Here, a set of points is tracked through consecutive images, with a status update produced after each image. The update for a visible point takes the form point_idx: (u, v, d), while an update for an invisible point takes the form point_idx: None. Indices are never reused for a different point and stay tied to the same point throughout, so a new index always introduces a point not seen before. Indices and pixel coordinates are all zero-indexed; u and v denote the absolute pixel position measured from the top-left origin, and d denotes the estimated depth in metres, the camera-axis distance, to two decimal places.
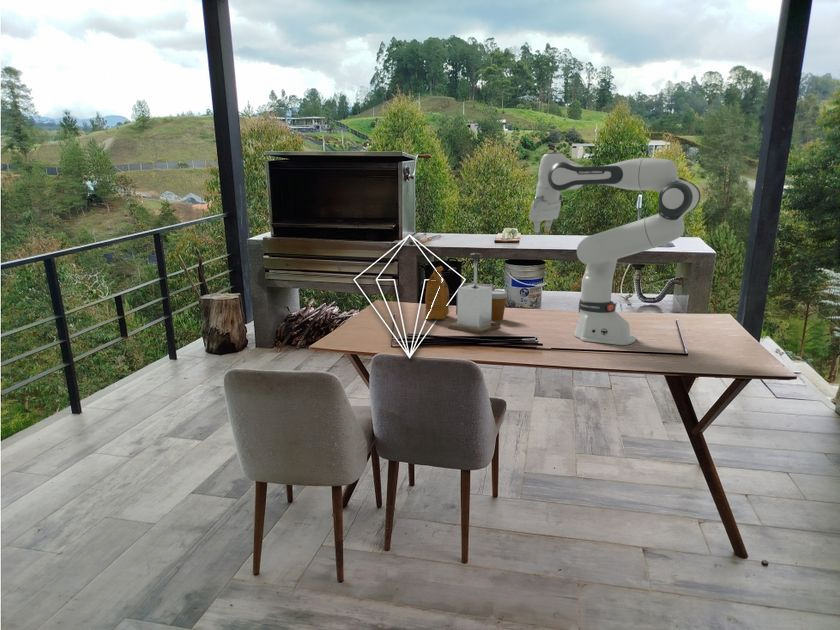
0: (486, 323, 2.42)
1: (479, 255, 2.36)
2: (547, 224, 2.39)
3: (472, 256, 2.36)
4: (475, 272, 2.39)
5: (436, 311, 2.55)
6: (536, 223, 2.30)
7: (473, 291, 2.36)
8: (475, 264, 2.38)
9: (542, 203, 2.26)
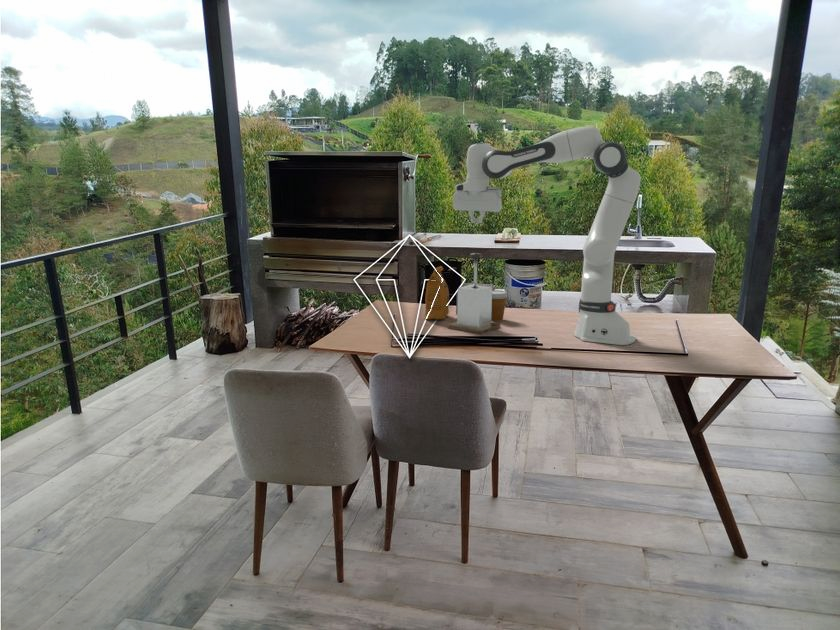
0: (486, 323, 2.42)
1: (479, 255, 2.36)
2: (472, 216, 2.35)
3: (472, 256, 2.36)
4: (475, 272, 2.39)
5: (436, 311, 2.55)
6: (483, 214, 2.33)
7: (473, 291, 2.36)
8: (475, 264, 2.38)
9: None
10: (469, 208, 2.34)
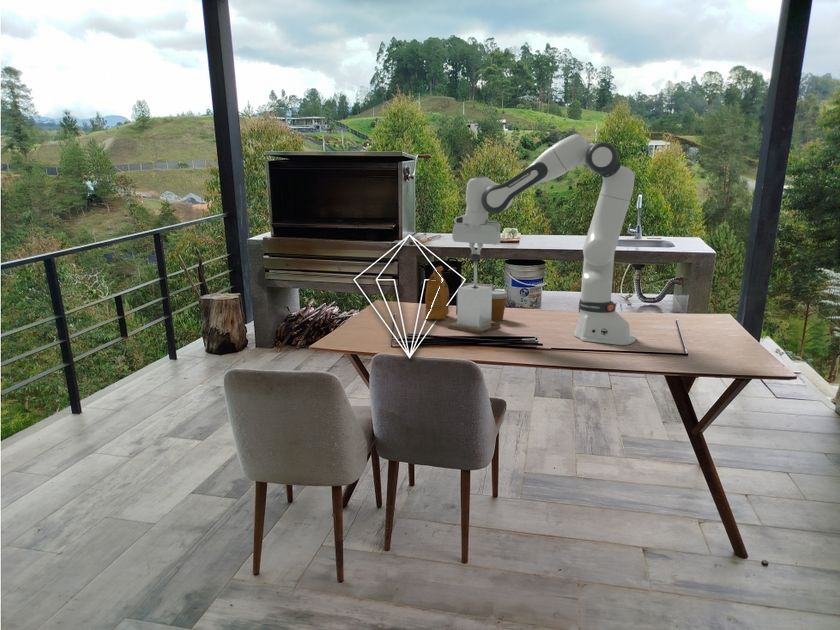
0: (486, 323, 2.42)
1: (479, 256, 2.36)
2: (473, 248, 2.38)
3: (472, 257, 2.36)
4: (475, 273, 2.39)
5: (436, 311, 2.55)
6: (481, 246, 2.36)
7: (473, 291, 2.36)
8: (475, 265, 2.38)
9: None
10: (468, 240, 2.36)
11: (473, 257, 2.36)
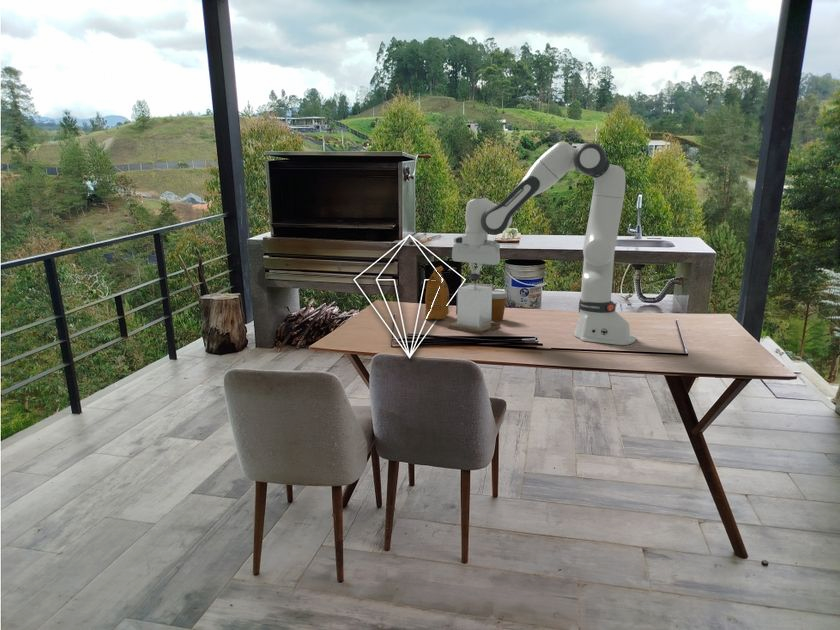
0: (486, 323, 2.42)
1: (478, 276, 2.38)
2: (472, 268, 2.39)
3: (472, 277, 2.38)
4: None
5: (436, 311, 2.55)
6: (481, 266, 2.37)
7: (473, 291, 2.36)
8: (475, 284, 2.40)
9: None
10: (468, 260, 2.38)
11: (473, 277, 2.38)
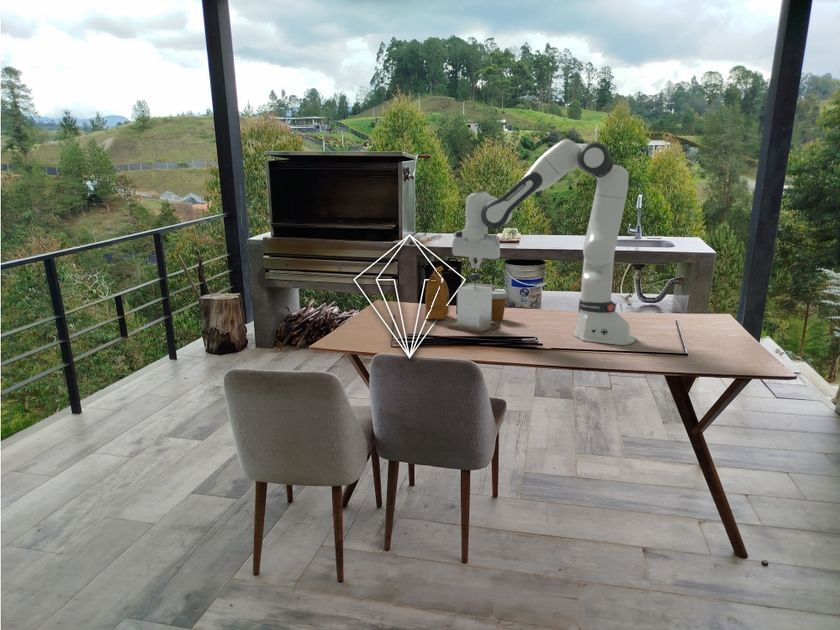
0: (486, 323, 2.42)
1: (478, 276, 2.38)
2: (472, 262, 2.39)
3: (472, 277, 2.38)
4: None
5: (436, 311, 2.55)
6: (481, 260, 2.37)
7: (473, 291, 2.36)
8: (475, 284, 2.40)
9: None
10: (468, 254, 2.38)
11: (473, 277, 2.38)
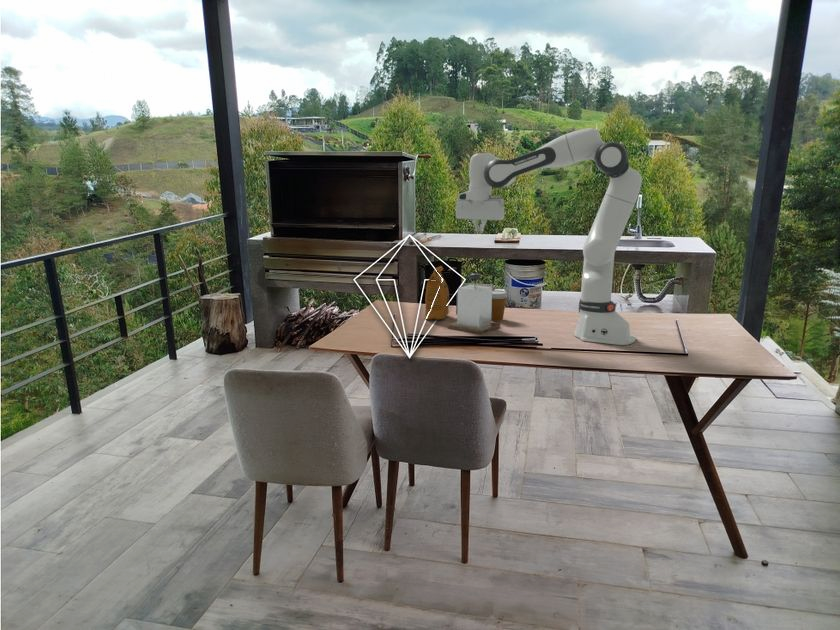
0: (486, 323, 2.42)
1: (478, 276, 2.38)
2: (476, 225, 2.36)
3: (472, 277, 2.38)
4: None
5: (436, 311, 2.55)
6: (485, 222, 2.34)
7: (473, 291, 2.36)
8: (475, 284, 2.40)
9: None
10: (472, 217, 2.35)
11: (473, 277, 2.38)
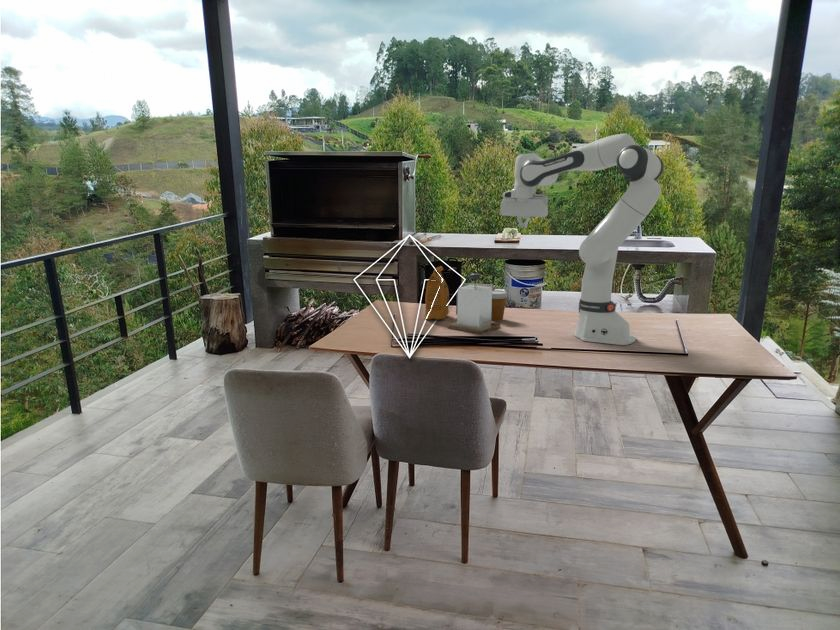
0: (486, 323, 2.42)
1: (478, 276, 2.38)
2: (520, 221, 2.51)
3: (472, 277, 2.38)
4: None
5: (436, 311, 2.55)
6: (529, 219, 2.49)
7: (473, 291, 2.36)
8: (475, 284, 2.40)
9: None
10: (516, 214, 2.50)
11: (473, 277, 2.38)
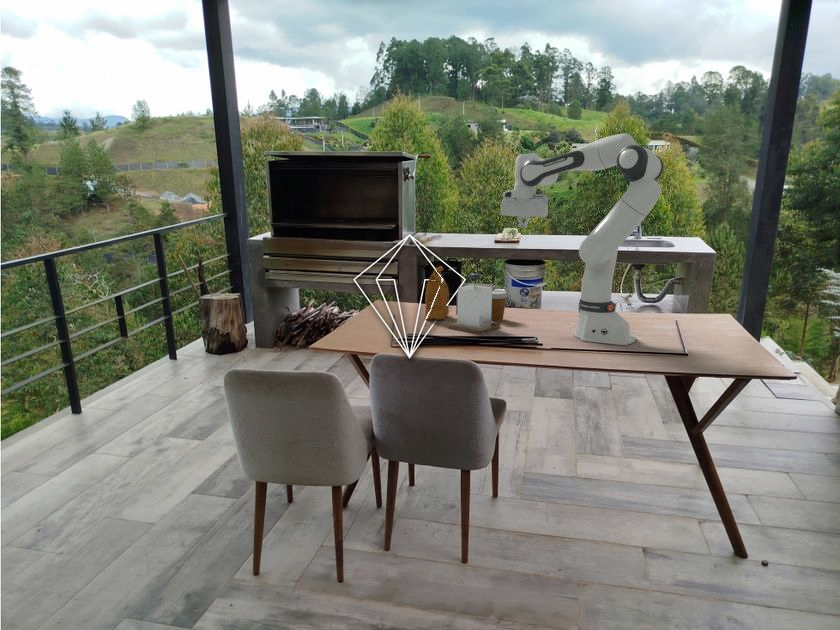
0: (486, 323, 2.42)
1: (478, 276, 2.38)
2: (520, 221, 2.51)
3: (472, 277, 2.38)
4: None
5: (436, 311, 2.55)
6: (529, 219, 2.49)
7: (473, 291, 2.36)
8: (475, 284, 2.40)
9: None
10: (516, 214, 2.50)
11: (473, 277, 2.38)
